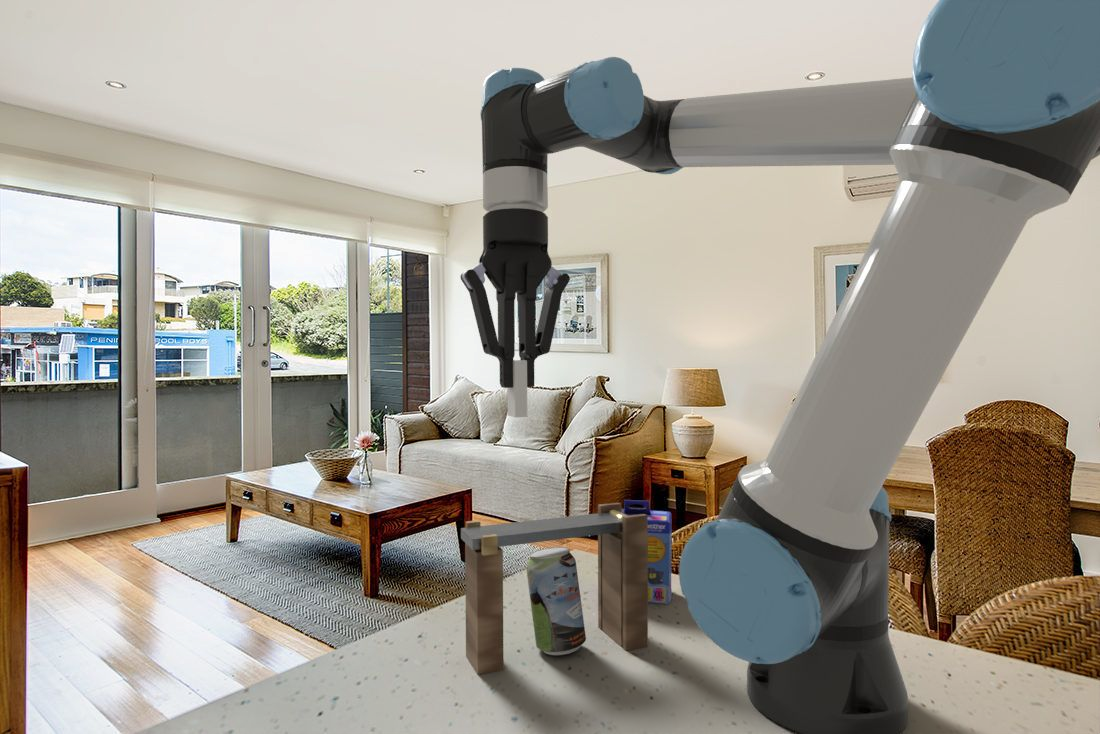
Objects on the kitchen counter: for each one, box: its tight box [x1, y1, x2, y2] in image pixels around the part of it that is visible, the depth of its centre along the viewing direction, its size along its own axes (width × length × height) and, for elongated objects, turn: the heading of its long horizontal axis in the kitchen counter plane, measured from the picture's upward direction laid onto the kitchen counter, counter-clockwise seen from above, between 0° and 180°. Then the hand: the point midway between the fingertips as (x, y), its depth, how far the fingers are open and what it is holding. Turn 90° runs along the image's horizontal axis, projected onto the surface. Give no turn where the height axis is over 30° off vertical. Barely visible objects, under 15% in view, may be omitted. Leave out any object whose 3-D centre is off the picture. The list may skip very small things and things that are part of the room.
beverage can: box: [525, 546, 587, 656], centre depth 80 cm, size 6×7×12 cm
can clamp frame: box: [464, 502, 649, 676], centre depth 80 cm, size 21×7×16 cm, turn 112°
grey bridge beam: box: [460, 510, 628, 550], centre depth 79 cm, size 21×5×2 cm, turn 112°
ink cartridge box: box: [621, 499, 673, 605], centre depth 97 cm, size 10×6×14 cm, turn 79°
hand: (517, 415), depth 77 cm, fingers closed
